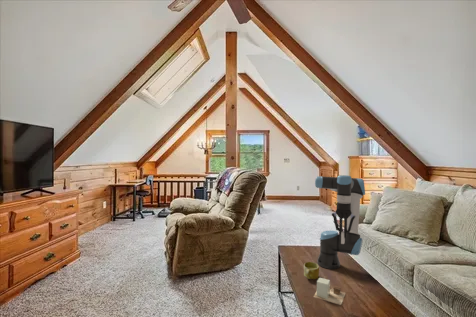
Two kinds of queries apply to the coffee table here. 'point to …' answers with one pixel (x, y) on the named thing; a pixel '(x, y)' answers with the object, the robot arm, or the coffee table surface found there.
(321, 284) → the pale green block
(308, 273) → the mug
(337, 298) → the board
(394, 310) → the coffee table surface
